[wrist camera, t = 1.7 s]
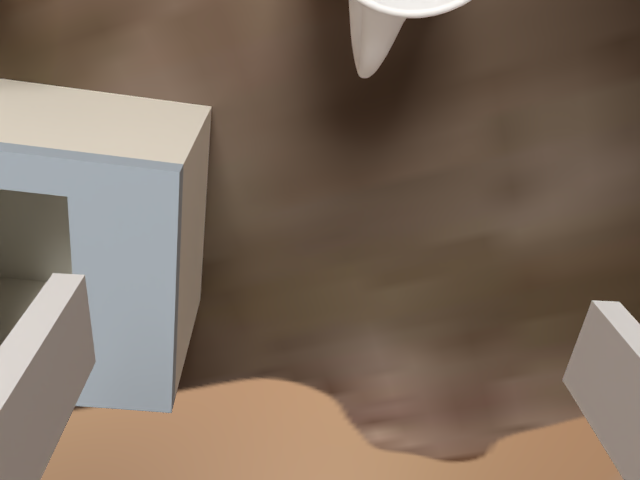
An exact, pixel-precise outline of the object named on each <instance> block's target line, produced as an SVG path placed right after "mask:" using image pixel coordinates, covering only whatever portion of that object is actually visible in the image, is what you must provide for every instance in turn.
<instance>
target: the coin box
mask: <svg viewBox="0 0 640 480" xmlns="http://www.w3.org/2000/svg"><path fill="white" fill-rule="evenodd" d="M211 110H212V106H204V105H196V104H189V103H181V102H174V101H166V100H159V99H151V98H144V97H136V96H129V95H121V94H113V93H106V92H98V91H91V90H83V89H76V88H68V87H61V86H53V85H45V84H38V83H30V82H23V81H15V80H8V79H0V346H1V344H2V343H3V342H4V340H5V339H6V337H7V336H8V335H9V333H10V332H11V331H12V329H13V328H14V326H15V325H16V324H17V322H18V321H19V319H20V318H21V317H22V315H23V314H24V313H25V311H26V310H27V308H28V307H29V306H30V304H31V303H32V302H33V300H34V299H35V297H36V296H37V295H38V293H39V292H40V290H41V289H42V288H43V286H44V285H45V284H46V282H47V281H48V279H49V278H50V277H51V275H52V274H53V273H61V274H81V275H85V279H86V287H87V295H88V303H89V311H90V319H91V327H92V335H93V343H94V351H95V359H96V362H95V365H94V367H93V369H92V371H91V373H90V375H89V377H88V379H87V382H86V384H85V386H84V388H83V390H82V392H81V394H80V396H79V399H78V401H77V403H76V405H75V406H85V407H98V408H112V409H126V410H139V411H153V412H166V413H171V412H172V408H173V405H174V400H175V396H176V393H177V389H178V385H179V381H180V377H181V373H182V369H183V365H184V362H185V358H186V354H187V350H188V346H189V342H190V338H191V334H192V330H193V326H194V322H195V319H196V315H197V311H198V307H199V303H200V297H201V280H202V263H203V246H204V229H205V212H206V195H207V178H208V161H209V144H210V127H211Z"/></svg>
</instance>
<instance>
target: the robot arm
mask: <svg viewBox="0 0 640 480" xmlns="http://www.w3.org/2000/svg"><path fill="white" fill-rule="evenodd" d="M95 362H96V359H95V351H94V343H93V335H92V327H91V319H90V311H89V303H88V295H87V287H86V279H85V275H81V274H61V273H53V274H52V275H51V277H50V278H49V279H48V281H47V282H46V284H45V285H44V286H43V288H42V289H41V290H40V292H39V293H38V295H37V296H36V297H35V299H34V300H33V302H32V303H31V304H30V306H29V307H28V308H27V310H26V311H25V313H24V314H23V315H22V317H21V318H20V319H19V321H18V322H17V324H16V325H15V326H14V328H13V329H12V331H11V332H10V333H9V335H8V336H7V337H6V339H5V340H4V342H3V343H2V344H1V346H0V480H41V477H42V475H43V473H44V471H45V469H46V467H47V465H48V463H49V460H50V458H51V456H52V454H53V452H54V449H55V447H56V445H57V443H58V441H59V439H60V437H61V435H62V433H63V431H64V428H65V426H66V424H67V422H68V420H69V418H70V416H71V414H72V411H73V409H74V407H75V405H76V403H77V401H78V399H79V396H80V394H81V392H82V390H83V388H84V386H85V384H86V382H87V379H88V377H89V375H90V373H91V371H92V369H93V367H94V365H95ZM562 380H563V382H564V383H565V385H566V387H567V388H568V390H569V392H570V393H571V395H572V396H573V398H574V400H575V401H576V403H577V405H578V406H579V408H580V410H581V411H582V413H583V414H584V416H585V418H586V419H587V421H588V423H589V424H590V426H591V427H592V429H593V431H594V432H595V434H596V436H597V437H598V439H599V440H600V442H601V444H602V445H603V447H604V448H605V450H606V452H607V453H608V455H609V456H610V458H611V460H612V461H613V463H614V465H615V466H616V468H617V470H618V471H619V473H620V475H621V476H622V478H623V479H624V480H640V324H639V323H638V322H637V321H636V320H635V318H634V317H633V316H632V315H631V314H630V313H629V312H628V311H627V310H626V309H625V307H624V306H623V305H622V304H621V303H620V302H612V301H593V300H592V302H591V304H590V307H589V310H588V312H587V315H586V318H585V320H584V323H583V326H582V329H581V331H580V334H579V337H578V339H577V342H576V345H575V347H574V350H573V353H572V355H571V358H570V361H569V363H568V366H567V369H566V371H565V374H564V377H563V379H562Z"/></svg>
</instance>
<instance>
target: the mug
mask: <svg viewBox="0 0 640 480" xmlns="http://www.w3.org/2000/svg"><path fill="white" fill-rule="evenodd" d="M470 1H471V0H349V14H350V30H351V41H352V49H353V55H354V61H355V65H356V69H357V73H358V75H359V77H361V78H368V77H370V76H371V75H373V74H374V73H375V72H376V71H377V70H378V68H379V67H380V65H381V64H382V62H383V61H384V59H385V57H386V56H387V54H388V52H389V50H390V48H391V46H392V45H393V43H394V41H395V39H396V37H397V35H398V33H399V31H400V29H401V27H402V25H403V23H404V21H405V20H406V18H424V17H431V16H436V15H440V14H443V13H446V12H449V11H452V10H454V9H456V8H458V7H461V6H463V5H465V4H466V3H468V2H470Z"/></svg>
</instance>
